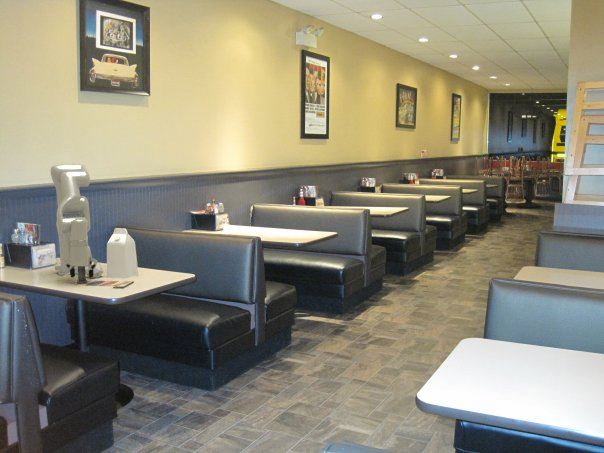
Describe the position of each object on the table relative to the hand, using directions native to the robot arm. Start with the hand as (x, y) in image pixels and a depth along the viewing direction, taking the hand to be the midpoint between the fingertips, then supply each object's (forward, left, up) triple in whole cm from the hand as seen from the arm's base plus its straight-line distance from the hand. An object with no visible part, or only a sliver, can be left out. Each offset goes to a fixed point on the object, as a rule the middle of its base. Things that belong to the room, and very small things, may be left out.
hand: (82, 277), depth 302 cm
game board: (+10, 0, -4) cm, 11 cm away
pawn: (0, 0, -3) cm, 3 cm away
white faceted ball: (-1, +14, -4) cm, 15 cm away
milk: (+12, +20, -4) cm, 24 cm away
